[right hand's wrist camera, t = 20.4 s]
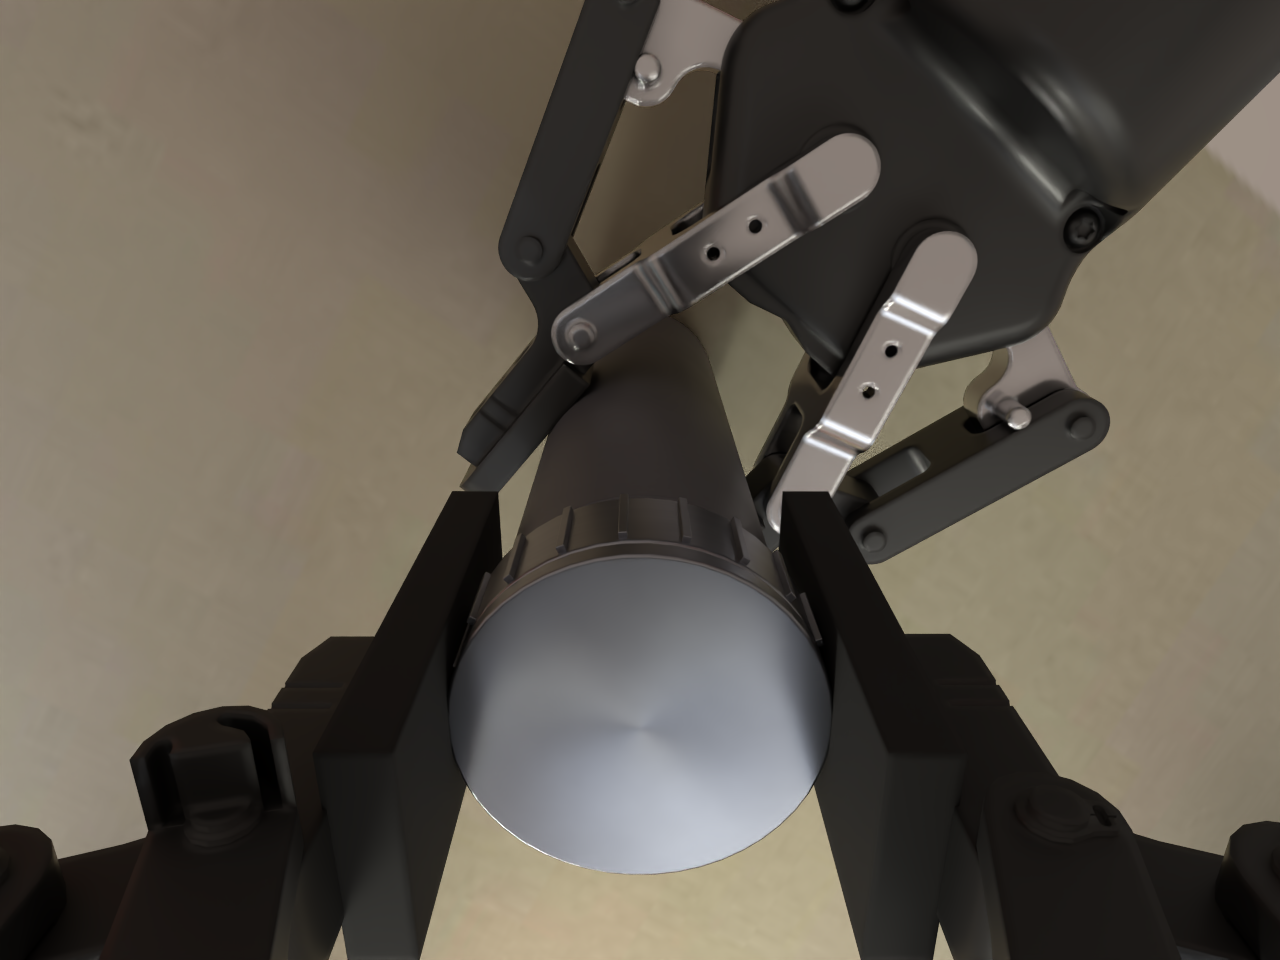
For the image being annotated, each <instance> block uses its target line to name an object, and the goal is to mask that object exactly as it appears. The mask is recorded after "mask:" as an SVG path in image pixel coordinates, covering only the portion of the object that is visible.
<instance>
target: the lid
mask: <svg viewBox="0 0 1280 960" xmlns="http://www.w3.org/2000/svg"><path fill="white" fill-rule="evenodd" d="M466 622H467V623H468V625H467V628H466V631H465V633H464V636H463V639H462V642H461V645H460V648H459V650H458V653H457V656H456V659H455V662H454V664H453V674H452V677H451V682H450V687H449V692H448V697H447V707H448V719H449V729H450V739H451V748H452V752H453V756H454V759H455V762H456V764H457V767H458V769H459V771H460V773H461V775H462V778H463V780H464V782H465V783H466V785H467V786H468V788H469V789H470V791H471V793H472V794H473V796H474V797H475V799H476V800H477V801H478V802H479V803H480V805H481V806H482V807H483V808H484V809H485V811H486V812H487V813H488V814H489V815H490V816H491V817H492V818H493V819H494V820H495V821H496V822H498V823H499V824H500V825H501V826H502V827H503V828H504V829H505V830H507V831H508V832H509V833H511V834H512V835H514V836H515V837H516V838H518V839H519V840H521V841H522V842H524V843H525V844H527V845H529V846H531V847H533V848H534V849H536V850H538V851H540V852H542V853H544V854H546V855H548V856H551V857H553V858H556V859H558V860H560V861H563V862H566V863H569V864H572V865H576V866H579V867H583V868H586V869H591V870H597V871H602V872H607V873H617V874H629V875H652V874H663V873H672V872H680V871H684V870H689V869H693V868H698V867H702V866H705V865H708V864H711V863H714V862H717V861H720V860H723V859H725V858H727V857H730V856H732V855H734V854H736V853H738V852H741V851H743V850H745V849H746V848H748V847H750V846H751V845H753V844H755V843H756V842H758V841H760V840H761V839H763V838H764V837H766V836H767V835H768V834H769V833H771V832H772V831H773V830H775V829H776V828H777V827H779V826H780V825H781V824H782V823H783V822H784V821H785V820H786V819H787V818H788V817H789V816H790V815H791V814H792V813H793V812H794V811H795V810H796V809H797V808H798V806H799V805H800V804H801V803H802V801H803V800H804V799H805V797H806V796H807V795H808V794H809V792H810V790H811V788H812V787H813V785H814V783H815V782H816V780H817V778H818V776H819V774H820V772H821V770H822V767H823V765H824V762H825V760H826V757H827V754H828V750H829V744H830V735H831V725H832V714H833V696H832V689H831V685H830V681H829V677H828V673H827V670H826V667H825V664H824V661H823V658H822V656H821V653H820V650H819V647H820V646H823V645H824V641H823V639H822V636H821V633H820V630H819V628H818V625H817V622H816V620H815V617H814V614H813V611H812V609H811V606H810V603H809V600H808V598H807V595H806V593H805V592H804V593H801V594H799V592H798V590H797V587H796V585H795V583H794V582H793V580H792V578H791V577H790V575H789V573H788V572H787V569H786V566H785V563H784V560H783V557H782V554H781V553H780V552H779V551H778V550H776V551H774V552H773V553H772V551H771V550H769V549H768V548H767V547H766V546H765V545H764V544H763V543H762V542H761V541H760V540H759V539H757V538H756V537H755V536H754V535H752V534H751V533H749V532H748V531H746V530H745V529H744V528H742V525H741V521H740V520H739V519H738V518H736V517H733V518H732V519H731V521H730V520H728V519H726V518H724V517H722V516H720V515H719V514H716V513H714V512H711V511H708V510H705V509H703V508H700V507H697V506H694V505H690V504H687V499H686V498H681V497H679V499H678V502H676V501H672V500H662V499H653V498H629V496H628V494H620V499H618V500H610V501H603V502H599V503H595V504H591V505H587V506H584V507H580V508H577V509H574V510H573V509H572V507H571V506H568V507H566V508H564V509H563V514H562V515H560V516H557V517H555V518H554V519H552V520H550V521H548V522H547V523H545V524H543V525H541V526H539V527H538V528H536V529H535V530H534V531H532V532H531V533H530V534H528V535H527V536H526V537H525V536H524V535H523V534H522V533H520V534H519V535H518V536H517V537H516V539H515V542H514V545H513V548H512V549H511V550H510V551H509V552H508V553H507V554H506V555H505V556H504V557H503V559H502V560H501V561H500V563H499V564H498V565H497V567H496V568H495V569H494V571H493V572H492V573H491V574H490V573H488V572H485V574H484V575H483V577H482V580H481V583H480V585H479V588H478V591H477V594H476V597H475V599H474V602H473V605H472V608H471V610H470V613H469V616H468V619H467V621H466Z"/></svg>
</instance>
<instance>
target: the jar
mask: <svg viewBox="0 0 1280 960" xmlns="http://www.w3.org/2000/svg"><path fill="white" fill-rule="evenodd" d="M620 494H628V496H629V498H653V499H662V500H672V501H676V502H678V499H679V497H681V498H686V499H687V504H690V505H694V506H697V507H700V508H703V509H705V510H708V511H711V512H714V513H716V514H719V515H720V516H722V517H724V518H726V519H728V520H730V521H731V519H732V518H733V517H736V518H738V519H739V520H740V521H741V525H742V528H744V529H745V530H746V531H748V532H749V533H751V534H752V535H754V536H755V537H756V538H757V539H759V540H760V541H761V542H762V543H763V544H764V545H765V546H766V547H767V545H766V542H765V538H764V535H763V532H762V529H761V526H760V522H759V519H758V516H757V513H756V509H755V506H754V503H753V500H752V497H751V493H750V490H749V487H748V484H747V481H746V477H745V474H744V471H743V468H742V464H741V461H740V458H739V455H738V452H737V448H736V445H735V442H734V439H733V436H732V432H731V429H730V426H729V423H728V419H727V416H726V413H725V410H724V407H723V403H722V400H721V397H720V394H719V391H718V387H717V384H716V381H715V378H714V374H713V371H712V368H711V365H710V362H709V359H708V356H707V353H706V351H705V349H704V348H703V346H702V344H701V343H700V341H699V340H698V338H697V337H696V336H695V335H694V334H693V333H692V332H691V331H690V330H689V329H688V328H687V327H686V326H684V325H683V324H682V323H680V322H678V321H677V320H675V319H673V318H671V317H669V316H668V317H666V318H664V319H662V320H661V321H659V322H658V323H656V324H655V325H653V326H651V327H650V328H648V329H647V330H645V331H644V332H642V333H640V334H639V335H637V336H636V337H634V338H633V339H631V340H630V341H628V342H626V343H625V344H623V345H622V346H620V347H619V348H617V349H616V350H614V351H612V352H611V353H609V354H608V355H606V356H605V357H603V358H602V359H600V360H598V361H597V362H595V363H594V368H593V373H592V378H591V383H590V386H589V387H588V388H587V389H586V390H585V392H584V393H583V394H582V395H581V396H580V397H579V399H578V400H577V401H576V402H575V403H574V405H573V406H572V407H571V408H570V409H569V410H568V411H567V412H566V413H565V414H564V415H563V417H562V418H561V419H560V420H559V421H558V423H557V424H556V425H555V427H554V428H553V429H552V430H551V431H550V433H549V434H548V437H547V441H546V444H545V447H544V450H543V453H542V457H541V460H540V463H539V466H538V469H537V473H536V476H535V479H534V482H533V485H532V489H531V492H530V495H529V498H528V501H527V505H526V508H525V511H524V514H523V517H522V521H521V524H520V527H519V530H518V533H517V536H518V535H519V534H520V533H522V534H523V535H524V536H525V537H526V536H527V535H528V534H530V533H531V532H532V531H534V530H535V529H536V528H538V527H539V526H541V525H543V524H545V523H547V522H548V521H550V520H552V519H554V518H555V517H557V516H560V515H562V514H563V509H564V508H566V507H568V506H571V507H572V509H573V510H574V509H577V508H580V507H584V506H587V505H591V504H595V503H599V502H603V501H610V500H618V499H620Z"/></svg>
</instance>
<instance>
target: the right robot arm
mask: <svg viewBox="0 0 1280 960" xmlns="http://www.w3.org/2000/svg"><path fill="white" fill-rule="evenodd" d="M779 552H780V553H781V554H782V557H783V560H784V563H785V566H786V569H787V572H788V573H789V575H790V577H791V578H792V580H793V582H794V583H795V585H796V587H797V590H798V592H799V594H801V593H804V592H805V593H806V595H807V598H808V600H809V603H810V606H811V609H812V611H813V614H814V617H815V620H816V622H817V625H818V628H819V630H820V633H821V636H822V639H823V641H824V645H823V646H820V647H819V650H820V653H821V656H822V658H823V661H824V664H825V667H826V670H827V673H828V677H829V681H830V685H831V689H832V696H833V714H832V725H831V735H830V744H829V750H828V754H827V757H826V760H825V762H824V765H823V767H822V770H821V772H820V774H819V776H818V778H817V780H816V782H815V783H814V787H815V791H816V794H817V798H818V802H819V806H820V809H821V813H822V817H823V821H824V824H825V828H826V832H827V835H828V839H829V843H830V847H831V850H832V854H833V858H834V861H835V865H836V869H837V873H838V876H839V880H840V884H841V887H842V891H843V895H844V899H845V902H846V906H847V910H848V913H849V917H850V921H851V925H852V928H853V932H854V936H855V940H856V943H857V947H858V951H859V954H860V958H861V960H933V956H934V950H935V944H936V938H937V932H938V927H939V922H940V925H941V927H942V930H943V933H944V935H945V938H946V941H947V943H948V946H949V948H950V951H951V954H952V956H953V959H954V960H1280V823H1279V822H1271V821H1263V822H1257V823H1251V824H1245V825H1243V826H1241V827H1240V828H1239V829H1238V830H1237V831H1236V832H1235V833H1233V834H1232V835H1231V836H1230V839H1229V842H1228V845H1227V848H1226V851H1225V855H1224V856H1221V855H1217V854H1213V853H1208V852H1204V851H1200V850H1195V849H1191V848H1187V847H1182V846H1178V845H1173V844H1169V843H1165V842H1160V841H1157V840H1153V839H1150V838H1147V837H1143V836H1140V835H1137V834H1134V833H1133V832H1132V829H1131V828H1130V826H1129V825H1128V823H1127V822H1126V820H1125V819H1124V817H1123V816H1122V814H1121V813H1120V811H1119V810H1118V809H1117V808H1116V807H1114V806H1113V805H1112V804H1111V803H1109V802H1108V801H1107V800H1106V799H1105V798H1103V797H1102V796H1101V795H1100V794H1098V793H1097V792H1095V791H1093V790H1091V789H1089V788H1087V787H1085V786H1083V785H1081V784H1079V783H1077V782H1075V781H1073V780H1071V779H1067V778H1063V777H1060V776H1059V775H1058V774H1057V772H1056V771H1055V769H1054V768H1053V766H1052V765H1051V763H1050V762H1049V760H1048V759H1047V757H1046V756H1045V754H1044V753H1043V751H1042V750H1041V748H1040V747H1039V745H1038V743H1037V742H1036V740H1035V739H1034V737H1033V736H1032V734H1031V733H1030V731H1029V730H1028V728H1027V727H1026V725H1025V724H1024V722H1023V721H1022V719H1021V718H1020V716H1019V715H1018V713H1017V712H1016V710H1015V709H1014V707H1013V706H1010V704H1009V699H1008V698H1007V696H1006V695H1005V693H1004V692H1003V690H1002V689H1001V687H1000V686H999V685H996V680H995V678H994V677H993V675H992V674H991V672H990V671H989V669H988V668H987V666H986V664H985V663H984V661H983V660H982V658H981V657H980V655H978V654H977V653H976V652H974V651H973V650H971V649H970V648H969V647H967V646H966V645H965V644H963V643H962V642H960V641H959V640H958V639H956V638H955V637H954V636H952V635H951V634H904V632H903V630H902V628H901V626H900V625H899V623H898V621H897V619H896V617H895V615H894V613H893V612H892V610H891V608H890V606H889V604H888V602H887V600H886V598H885V597H884V595H883V593H882V591H881V589H880V587H879V585H878V583H877V582H876V580H875V578H874V576H873V574H872V572H871V570H870V568H869V567H868V565H867V563H866V561H865V559H864V557H863V555H862V554H861V552H860V550H859V548H858V546H857V544H856V542H855V540H854V539H853V537H852V535H851V533H850V531H849V529H848V527H847V525H846V524H845V522H844V520H843V518H842V516H841V514H840V512H839V511H838V509H837V507H836V505H835V503H834V501H833V499H832V497H831V496H830V494H829V492H828V491H783V492H782V507H781V522H780V537H779ZM501 560H502V545H501V530H500V514H499V499H498V491H452V493H451V495H450V497H449V498H448V500H447V502H446V504H445V506H444V508H443V510H442V511H441V513H440V515H439V517H438V519H437V521H436V523H435V525H434V526H433V528H432V530H431V532H430V534H429V536H428V538H427V540H426V541H425V543H424V545H423V547H422V549H421V551H420V553H419V555H418V556H417V558H416V560H415V562H414V564H413V566H412V568H411V570H410V571H409V573H408V575H407V577H406V579H405V581H404V583H403V584H402V586H401V588H400V590H399V592H398V594H397V596H396V598H395V599H394V601H393V603H392V605H391V607H390V609H389V611H388V613H387V614H386V616H385V618H384V620H383V622H382V624H381V626H380V628H379V629H378V631H377V633H376V635H375V637H330V638H328V639H327V640H326V641H324V642H323V643H321V644H320V645H319V646H317V647H316V648H315V649H313V650H312V651H310V652H309V653H308V654H306V655H305V656H304V657H302V658H301V660H300V661H299V663H298V664H297V666H296V667H295V669H294V670H293V672H292V673H291V675H290V676H289V678H288V680H287V681H286V683H285V688H282V689H281V690H280V692H279V693H278V695H277V696H276V698H275V699H274V701H273V702H272V708H271V709H268V710H263V709H259V708H255V707H252V706H222V707H218V708H213V709H209V710H205V711H201V712H196V713H193V714H191V715H188V716H186V717H184V718H182V719H179V720H177V721H175V722H172V723H170V724H168V725H166V726H164V727H163V728H162V729H160V730H159V731H157V732H156V733H155V734H153V735H152V736H151V737H149V738H148V739H146V740H145V741H144V742H143V743H142V744H141V745H140V747H139V748H138V749H137V751H136V752H135V753H134V755H133V756H132V757H131V759H130V764H131V768H132V771H133V775H134V779H135V783H136V786H137V790H138V794H139V798H140V801H141V805H142V809H143V812H144V816H145V820H146V824H147V827H148V833H147V836H146V838H142V839H139V840H136V841H132V842H129V843H126V844H123V845H118V846H114V847H110V848H105V849H101V850H96V851H92V852H88V853H83V854H79V855H75V856H70V857H66V858H62V859H57V856H56V852H55V849H54V846H53V843H52V840H51V839H50V838H49V837H48V836H47V835H45V834H44V833H43V832H42V831H41V830H40V829H39V828H33V827H28V826H22V825H16V824H15V825H7V826H0V960H328V959H329V957H330V954H331V952H332V949H333V946H334V944H335V941H336V938H337V936H338V933H339V930H340V928H341V925H342V929H343V935H344V941H345V947H346V953H347V959H348V960H420V956H421V953H422V949H423V945H424V941H425V938H426V934H427V930H428V927H429V923H430V919H431V915H432V912H433V908H434V904H435V901H436V897H437V893H438V889H439V886H440V882H441V878H442V874H443V871H444V867H445V863H446V860H447V856H448V852H449V848H450V845H451V841H452V837H453V834H454V830H455V826H456V822H457V819H458V815H459V811H460V808H461V804H462V800H463V796H464V793H465V789H466V783H465V782H464V780H463V778H462V775H461V773H460V771H459V769H458V767H457V764H456V762H455V759H454V756H453V752H452V748H451V739H450V729H449V719H448V707H447V697H448V692H449V687H450V682H451V677H452V674H453V664H454V662H455V659H456V656H457V653H458V650H459V648H460V645H461V642H462V639H463V636H464V633H465V631H466V628H467V625H468V623H467V622H466V621H467V619H468V616H469V613H470V610H471V608H472V605H473V602H474V599H475V597H476V594H477V591H478V588H479V585H480V583H481V580H482V577H483V575H484V574H485V572H488V573H490V574H491V573H492V572H493V571H494V569H495V568H496V567H497V565H498V564H499V563H500V561H501Z"/></svg>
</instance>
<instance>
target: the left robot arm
mask: <svg viewBox="0 0 1280 960" xmlns="http://www.w3.org/2000/svg"><path fill="white" fill-rule="evenodd" d="M696 71H709V72H712V73H715V74H717V75H716V86H715V96H714V106H713V116H712V126H711V136H710V146H709V156H708V166H707V176H706V187H705V197H704V201H702V202H701V203H699V204H698V205H696V206H695V207H693V208H692V209H690V210H689V211H687V212H686V213H684V214H683V215H681V216H680V217H678V218H677V219H675V220H674V221H672V222H671V223H669V224H668V225H666V226H665V227H663V228H662V229H660V230H659V231H657V232H656V233H654V234H653V235H651V236H650V237H649V238H647V239H646V240H645V241H643V242H642V243H641V244H640V245H639V246H638V247H636V248H635V249H634V250H632V251H631V252H629V253H628V254H626V255H625V256H623V257H622V258H620V259H619V260H617V261H616V262H614V263H613V264H611V265H610V266H608V267H607V268H605V269H604V270H602V271H601V272H599V273H598V274H596V275H595V276H594V274H593V272H592V270H591V269H590V267H589V265H588V263H587V262H586V260H585V258H584V256H583V255H582V253H581V251H580V250H579V248H578V246H577V244H576V243H575V241H574V239H573V236H574V233H575V231H576V228H577V226H578V223H579V220H580V218H581V215H582V213H583V210H584V208H585V205H586V202H587V200H588V197H589V195H590V192H591V190H592V187H593V184H594V182H595V179H596V177H597V174H598V172H599V169H600V166H601V164H602V161H603V159H604V156H605V154H606V151H607V148H608V146H609V143H610V141H611V138H612V136H613V133H614V130H615V128H616V125H617V123H618V120H619V118H620V115H621V112H622V110H623V107H624V105H625V102H628V103H630V104H632V105H634V106H637V107H641V108H651V107H655V106H658V105H660V104H661V103H663V102H664V101H665V100H667V99H668V97H669V96H670V95H671V93H672V92H673V90H674V88H675V87H676V85H677V84H678V82H679V81H680V80H681V79H682V78H683V77H685V76H686V75H688V74H690V73H693V72H696ZM1279 73H1280V0H778V1H776V2H773V3H770V4H768V5H765V6H763V7H761V8H759V9H758V10H756V11H754V12H753V13H752V14H750V15H749V16H748V17H747V18H746V19H745V20H744V21H742V20H740V19H738V18H736V17H734V16H732V15H730V14H728V13H726V12H724V11H721V10H719V9H717V8H715V7H713V6H711V5H709V4H707V3H705V2H703V1H701V0H585V2H584V5H583V8H582V10H581V13H580V16H579V19H578V21H577V24H576V27H575V30H574V33H573V35H572V38H571V41H570V44H569V47H568V49H567V52H566V55H565V58H564V60H563V63H562V66H561V69H560V72H559V74H558V77H557V80H556V83H555V86H554V88H553V91H552V94H551V97H550V99H549V102H548V105H547V108H546V111H545V113H544V116H543V119H542V122H541V125H540V127H539V130H538V133H537V136H536V138H535V141H534V144H533V147H532V150H531V152H530V155H529V158H528V161H527V163H526V166H525V169H524V172H523V175H522V177H521V180H520V183H519V186H518V189H517V191H516V194H515V197H514V200H513V202H512V205H511V208H510V211H509V214H508V216H507V219H506V222H505V225H504V228H503V230H502V233H501V236H500V239H499V246H498V250H499V256H500V259H501V262H502V264H503V265H504V267H505V268H506V270H507V271H508V272H509V273H510V274H512V275H513V276H514V277H516V278H517V279H518V280H519V282H520V284H521V285H522V287H523V289H524V290H525V292H526V294H527V295H528V297H529V298H530V300H531V302H532V303H533V305H534V307H535V310H536V313H537V317H538V332H537V335H536V336H535V337H534V339H533V340H532V341H531V342H530V343H529V345H528V346H527V347H526V348H525V350H524V351H523V352H522V353H521V355H520V356H519V357H518V358H517V359H516V361H515V362H514V363H513V364H512V366H511V367H510V368H509V369H508V371H507V372H506V373H505V374H504V375H503V377H502V378H501V379H500V380H499V382H498V383H497V384H496V385H495V387H494V388H493V389H492V390H491V392H490V393H489V394H488V395H487V396H486V398H485V399H484V400H483V401H482V403H481V404H480V405H479V406H478V407H477V409H476V410H475V411H474V413H473V415H472V416H471V418H470V420H469V421H468V423H467V424H466V426H465V428H464V429H463V432H462V436H461V439H460V443H459V447H458V450H457V453H458V454H459V455H461V456H462V457H463V458H465V459H466V460H467V461H469V462H470V463H471V465H470V467H469V469H468V471H467V473H466V475H465V477H464V479H463V480H462V482H461V484H460V487H461V488H462V489H463V490H465V491H498V492H499V491H500V490H501V489H502V488H503V487H504V485H505V484H506V483H507V482H508V481H509V480H510V478H511V477H512V476H513V475H514V474H515V472H516V471H517V470H518V469H519V468H520V467H521V465H522V464H523V463H524V462H525V461H526V460H527V458H528V457H529V456H530V455H531V454H532V453H533V451H534V450H535V449H536V448H537V447H538V446H539V444H540V443H541V442H542V441H543V440H544V438H545V437H546V436H547V435H548V434H549V433H550V431H551V430H552V429H553V428H554V427H555V425H556V424H557V423H558V421H559V420H560V419H561V418H562V417H563V415H564V414H565V413H566V412H567V411H568V410H569V409H570V408H571V407H572V406H573V405H574V403H575V402H576V401H577V400H578V399H579V397H580V396H581V395H582V394H583V393H584V392H585V390H586V389H587V388H588V387H589V386H590V383H591V378H592V373H593V368H594V363H595V362H597V361H598V360H600V359H602V358H603V357H605V356H606V355H608V354H609V353H611V352H612V351H614V350H616V349H617V348H619V347H620V346H622V345H623V344H625V343H626V342H628V341H630V340H631V339H633V338H634V337H636V336H637V335H639V334H640V333H642V332H644V331H645V330H647V329H648V328H650V327H651V326H653V325H655V324H656V323H658V322H659V321H661V320H662V319H664V318H666V317H668V316H670V315H672V314H676V313H679V312H682V311H684V310H686V309H687V308H689V307H691V306H693V305H694V304H696V303H697V302H699V301H700V300H702V299H704V298H705V297H707V296H708V295H710V294H711V293H713V292H715V291H716V290H718V289H719V288H721V287H722V286H724V285H725V284H727V283H728V284H729V285H730V286H732V287H733V288H734V289H735V290H736V291H737V292H738V293H739V294H741V295H742V296H743V297H744V298H745V299H746V300H747V301H748V302H750V303H752V304H754V305H756V306H758V307H760V308H762V309H764V310H766V311H768V312H770V313H772V314H774V315H776V316H778V317H780V318H782V320H783V321H784V323H785V325H786V326H787V328H788V329H789V331H790V332H791V334H792V335H793V336H794V338H795V339H796V340H797V341H798V343H799V344H800V345H801V347H802V348H803V349H804V350H805V353H804V355H803V357H802V359H801V361H800V363H799V365H798V367H797V369H796V371H795V373H794V375H793V377H792V380H791V382H790V385H789V389H788V396H787V400H786V402H785V405H784V407H783V409H782V411H781V413H780V415H779V416H778V418H777V420H776V422H775V424H774V426H773V428H772V430H771V432H770V434H769V436H768V438H767V440H766V442H765V444H764V446H763V448H762V449H761V451H760V453H759V455H758V457H757V459H756V461H755V463H754V466H753V470H752V471H751V472H750V473H749V474H748V475H747V476H746V481H747V484H748V487H749V490H750V493H751V497H752V500H753V503H754V506H755V509H756V513H757V516H758V519H759V522H760V526H761V529H762V532H763V535H764V538H765V542H766V545H767V548H768V549H769V550H771V551H772V552H773V551H774V550H775V549H776V548H777V547H778V546H779V537H780V522H781V507H782V492H783V491H828V492H829V494H830V496H831V497H832V499H833V501H834V503H835V505H836V507H837V509H838V511H839V512H840V514H841V516H842V518H843V520H844V522H845V524H846V525H847V527H848V529H849V531H850V533H851V535H852V537H853V539H854V540H855V542H856V544H857V546H858V548H859V550H860V552H861V554H862V555H863V557H864V559H865V561H866V563H867V564H878V563H882V562H884V561H886V560H888V559H890V558H892V557H893V556H895V555H897V554H899V553H901V552H903V551H905V550H906V549H908V548H910V547H912V546H914V545H916V544H918V543H919V542H921V541H923V540H925V539H927V538H929V537H930V536H932V535H934V534H936V533H938V532H940V531H942V530H943V529H945V528H947V527H949V526H951V525H953V524H955V523H956V522H958V521H960V520H962V519H964V518H966V517H968V516H969V515H971V514H973V513H975V512H977V511H979V510H981V509H982V508H984V507H986V506H988V505H990V504H992V503H994V502H995V501H997V500H999V499H1001V498H1003V497H1005V496H1006V495H1008V494H1010V493H1012V492H1014V491H1016V490H1018V489H1019V488H1021V487H1023V486H1025V485H1027V484H1029V483H1031V482H1032V481H1034V480H1036V479H1038V478H1040V477H1042V476H1044V475H1045V474H1047V473H1049V472H1051V471H1053V470H1055V469H1057V468H1058V467H1060V466H1062V465H1064V464H1066V463H1068V462H1070V461H1071V460H1073V459H1075V458H1077V457H1079V456H1081V455H1082V454H1084V453H1086V452H1088V451H1090V450H1092V449H1093V448H1095V447H1096V446H1097V445H1099V444H1100V443H1101V442H1102V441H1103V439H1104V438H1105V436H1106V434H1107V432H1108V430H1109V426H1110V416H1109V413H1108V411H1107V409H1106V408H1105V406H1104V405H1103V404H1102V403H1100V402H1098V401H1097V400H1095V399H1093V398H1091V397H1090V396H1088V395H1087V394H1086V393H1085V392H1084V391H1082V390H1080V389H1079V388H1078V387H1077V386H1076V384H1075V382H1074V380H1073V378H1072V375H1071V373H1070V371H1069V369H1068V367H1067V365H1066V363H1065V361H1064V358H1063V356H1062V354H1061V352H1060V350H1059V348H1058V346H1057V344H1056V341H1055V339H1054V337H1053V335H1052V333H1051V331H1050V329H1049V327H1048V325H1049V324H1050V322H1051V321H1052V320H1053V318H1054V317H1055V316H1056V314H1057V312H1058V311H1059V309H1060V307H1061V304H1062V302H1063V299H1064V296H1065V293H1066V291H1067V288H1068V285H1069V283H1070V281H1071V279H1072V277H1073V275H1074V273H1075V271H1076V270H1077V268H1078V266H1079V265H1080V263H1081V262H1082V260H1083V259H1084V258H1085V256H1086V255H1087V254H1088V253H1089V252H1090V251H1091V250H1092V249H1093V248H1094V247H1095V246H1096V245H1097V244H1099V243H1100V242H1101V241H1102V240H1104V239H1105V238H1106V237H1107V236H1109V235H1110V234H1111V233H1113V232H1114V231H1115V230H1116V229H1118V228H1119V227H1120V226H1122V225H1123V224H1124V223H1125V222H1127V221H1128V220H1129V219H1130V218H1132V217H1133V216H1134V215H1135V214H1136V213H1137V212H1138V211H1140V210H1141V209H1142V208H1143V207H1144V206H1145V205H1146V204H1147V203H1148V202H1149V201H1150V200H1151V199H1152V198H1153V197H1154V196H1155V195H1156V194H1157V193H1158V192H1159V191H1160V190H1161V189H1162V188H1163V187H1164V186H1165V185H1166V184H1167V183H1168V182H1169V181H1170V180H1171V179H1172V178H1173V177H1174V176H1175V175H1176V174H1177V173H1178V172H1179V171H1180V170H1181V169H1182V168H1183V167H1184V166H1185V165H1186V164H1187V163H1188V162H1189V161H1190V160H1191V159H1192V158H1193V157H1194V156H1195V155H1196V154H1197V153H1198V152H1199V151H1200V150H1201V149H1202V148H1203V147H1204V146H1205V145H1207V144H1208V143H1209V142H1210V141H1211V140H1212V139H1213V138H1214V137H1215V136H1216V135H1217V134H1218V133H1219V132H1220V131H1221V130H1222V129H1223V128H1224V127H1225V126H1226V125H1227V124H1228V123H1229V122H1230V121H1231V120H1232V119H1233V118H1234V117H1235V116H1236V115H1237V114H1238V113H1239V112H1240V111H1241V110H1242V109H1243V108H1244V107H1245V106H1246V105H1247V104H1248V103H1249V102H1250V101H1251V100H1252V99H1253V98H1254V97H1255V96H1256V95H1257V94H1258V93H1259V92H1260V91H1261V90H1262V89H1263V88H1264V87H1265V86H1266V85H1267V84H1268V83H1269V82H1270V81H1271V80H1272V79H1274V78H1275V76H1277V75H1278V74H1279ZM990 351H993V353H992V358H991V361H990V363H989V365H988V366H987V367H986V369H985V370H984V371H983V372H982V373H981V374H980V375H978V376H977V377H976V378H974V379H973V380H972V381H971V382H970V384H969V385H968V386H967V388H966V390H965V393H964V398H963V404H964V406H962V407H960V408H958V409H957V410H955V411H953V412H951V413H950V414H948V415H946V416H944V417H943V418H941V419H939V420H937V421H936V422H934V423H932V424H930V425H929V426H927V427H925V428H923V429H921V430H920V431H918V432H916V433H914V434H913V435H911V436H909V437H907V438H906V439H904V440H902V441H900V442H899V443H897V444H895V445H893V446H892V447H890V448H888V449H886V450H885V451H883V452H881V453H879V454H877V455H876V456H874V457H872V458H870V459H869V460H867V461H865V462H863V463H862V464H860V465H858V466H856V467H855V468H853V469H851V470H849V471H848V469H849V467H850V466H851V464H852V462H853V460H854V459H855V457H856V456H857V455H858V454H860V453H863V452H865V451H867V450H868V449H869V448H870V447H871V445H872V444H873V443H874V441H875V440H876V438H877V436H878V434H879V433H880V431H881V429H882V427H883V426H884V424H885V422H886V420H887V419H888V417H889V415H890V413H891V411H892V410H893V408H894V406H895V404H896V403H897V401H898V399H899V397H900V395H901V394H902V392H903V390H904V388H905V387H906V385H907V383H908V381H909V380H910V378H911V376H912V374H913V372H914V371H915V369H917V368H921V367H926V366H930V365H934V364H938V363H943V362H947V361H951V360H956V359H960V358H964V357H969V356H973V355H977V354H981V353H986V352H990ZM866 387H868V389H867V390H866V391H864V392H863V390H864V389H865V388H866ZM847 471H848V472H847Z"/></svg>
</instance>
